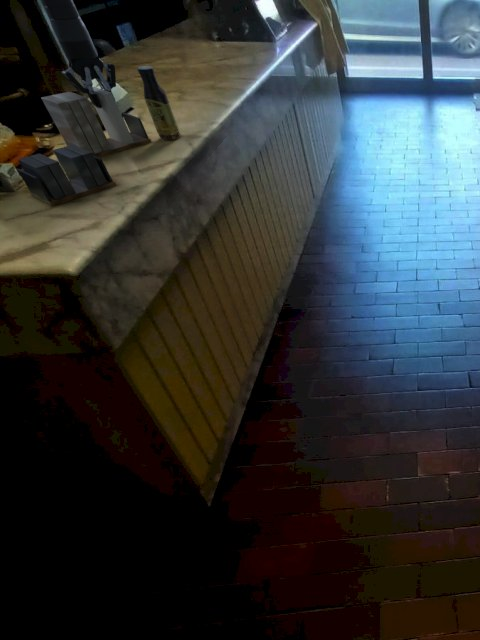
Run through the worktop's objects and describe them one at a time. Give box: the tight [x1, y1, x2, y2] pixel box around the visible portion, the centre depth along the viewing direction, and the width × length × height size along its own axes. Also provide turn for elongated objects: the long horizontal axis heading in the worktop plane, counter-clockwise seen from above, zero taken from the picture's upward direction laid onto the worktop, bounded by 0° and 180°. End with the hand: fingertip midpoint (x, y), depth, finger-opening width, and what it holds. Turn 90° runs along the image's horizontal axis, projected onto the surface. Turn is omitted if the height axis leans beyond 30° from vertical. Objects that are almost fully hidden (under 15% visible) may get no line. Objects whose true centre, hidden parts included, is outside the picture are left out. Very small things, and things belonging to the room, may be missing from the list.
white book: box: [93, 86, 134, 145], centre depth 154 cm, size 2×9×14 cm, turn 58°
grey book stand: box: [40, 91, 152, 158], centre depth 152 cm, size 20×10×15 cm, turn 148°
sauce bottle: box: [136, 65, 181, 141], centre depth 158 cm, size 7×6×20 cm
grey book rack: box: [16, 145, 117, 207], centre depth 132 cm, size 16×10×9 cm, turn 148°
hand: (105, 105), depth 152 cm, fingers open, 3 cm apart
